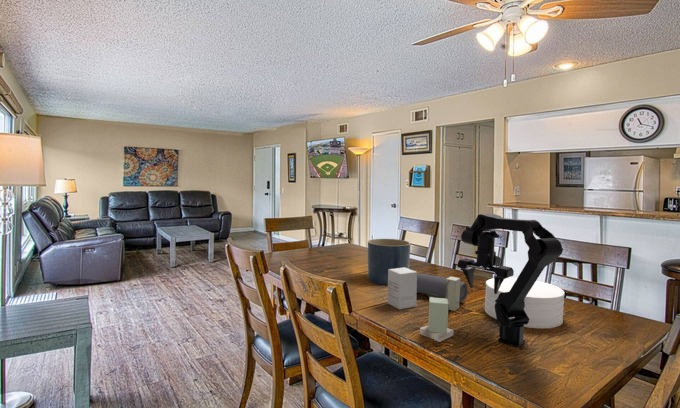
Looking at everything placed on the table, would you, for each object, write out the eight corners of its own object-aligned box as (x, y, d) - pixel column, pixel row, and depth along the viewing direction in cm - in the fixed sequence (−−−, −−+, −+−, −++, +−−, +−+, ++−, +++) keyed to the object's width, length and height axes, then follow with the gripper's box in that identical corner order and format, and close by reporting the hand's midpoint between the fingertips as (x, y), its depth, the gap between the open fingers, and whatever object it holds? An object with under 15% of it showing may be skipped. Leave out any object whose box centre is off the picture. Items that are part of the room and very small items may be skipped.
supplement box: (403, 300, 163) (404, 266, 162) (416, 306, 155) (417, 271, 154) (386, 303, 159) (387, 268, 158) (398, 309, 151) (400, 273, 150)
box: (449, 305, 157) (450, 276, 156) (459, 308, 154) (460, 277, 153) (444, 309, 153) (445, 278, 152) (454, 311, 150) (455, 280, 149)
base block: (453, 337, 127) (453, 330, 127) (439, 343, 122) (439, 336, 122) (433, 329, 133) (433, 322, 133) (419, 335, 128) (420, 328, 128)
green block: (445, 326, 129) (447, 298, 129) (447, 333, 123) (448, 303, 123) (428, 324, 131) (429, 297, 130) (428, 331, 125) (429, 302, 124)
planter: (364, 284, 187) (365, 244, 185) (368, 273, 208) (369, 237, 207) (409, 287, 183) (410, 246, 182) (408, 275, 205) (409, 239, 203)
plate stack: (473, 314, 148) (474, 286, 147) (499, 298, 168) (500, 273, 167) (552, 335, 129) (554, 303, 128) (570, 314, 149) (571, 287, 148)
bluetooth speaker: (467, 302, 162) (468, 279, 162) (459, 307, 155) (460, 284, 155) (421, 291, 177) (421, 270, 176) (411, 295, 170) (412, 274, 169)
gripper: (521, 250, 132) (518, 292, 133) (472, 242, 146) (470, 281, 147) (507, 254, 125) (505, 299, 126) (457, 245, 139) (455, 286, 140)
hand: (483, 290), depth 135 cm, fingers open, 9 cm apart
